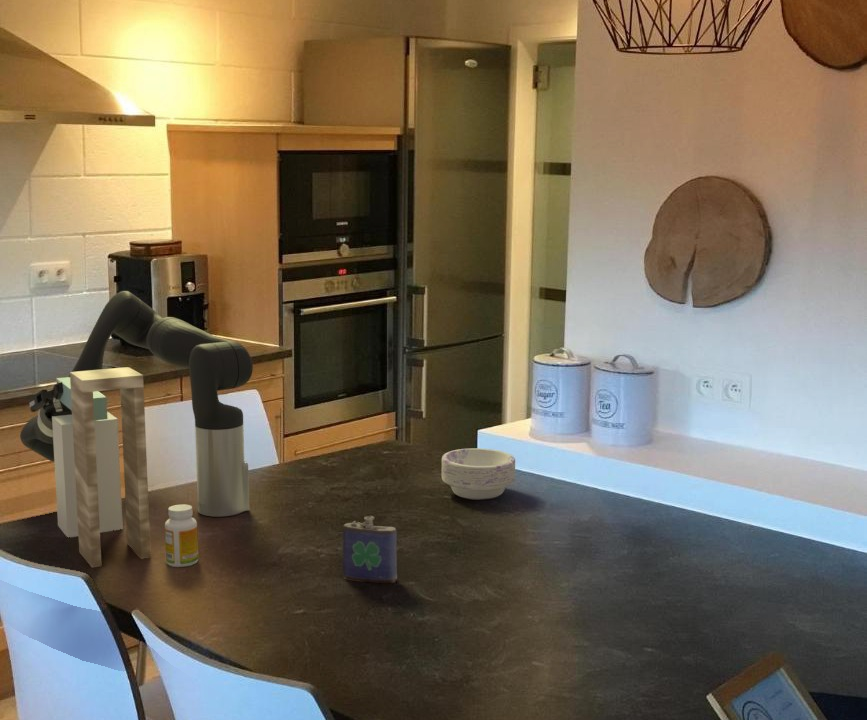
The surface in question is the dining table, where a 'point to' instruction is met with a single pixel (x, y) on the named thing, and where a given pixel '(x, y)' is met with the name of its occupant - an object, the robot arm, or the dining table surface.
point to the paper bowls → (478, 472)
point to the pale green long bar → (98, 399)
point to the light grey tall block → (105, 474)
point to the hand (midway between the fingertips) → (73, 385)
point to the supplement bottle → (181, 537)
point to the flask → (369, 552)
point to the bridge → (132, 456)
